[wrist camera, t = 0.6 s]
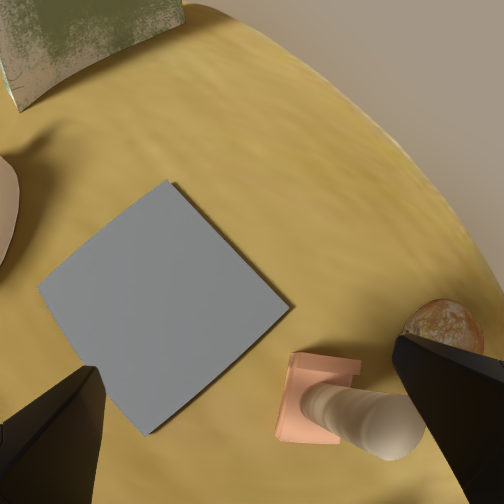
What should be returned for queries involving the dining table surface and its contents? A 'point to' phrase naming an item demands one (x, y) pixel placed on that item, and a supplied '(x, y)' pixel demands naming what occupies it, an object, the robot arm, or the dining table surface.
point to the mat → (158, 305)
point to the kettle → (7, 205)
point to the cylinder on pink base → (344, 409)
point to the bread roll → (447, 325)
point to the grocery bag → (71, 37)
